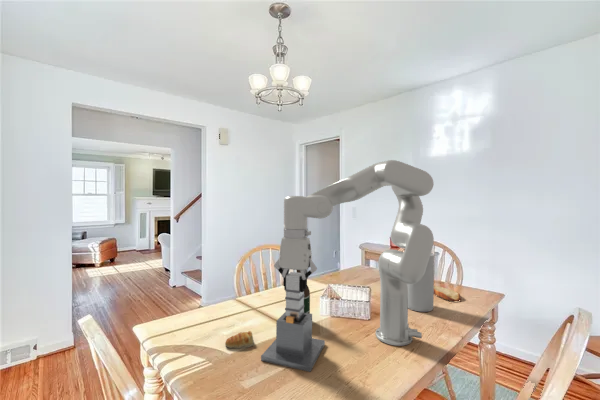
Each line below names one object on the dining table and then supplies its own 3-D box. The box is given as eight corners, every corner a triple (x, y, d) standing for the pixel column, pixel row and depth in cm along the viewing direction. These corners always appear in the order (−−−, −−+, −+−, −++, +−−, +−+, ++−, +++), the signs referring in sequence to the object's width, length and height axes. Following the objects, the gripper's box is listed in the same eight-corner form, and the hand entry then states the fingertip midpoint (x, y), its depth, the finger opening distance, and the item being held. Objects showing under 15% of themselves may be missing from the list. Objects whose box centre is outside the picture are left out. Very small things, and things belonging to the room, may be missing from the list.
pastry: (226, 352, 92) (226, 340, 92) (224, 342, 99) (224, 331, 98) (255, 346, 96) (255, 335, 96) (250, 337, 102) (250, 327, 102)
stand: (324, 344, 97) (325, 306, 97) (310, 371, 82) (310, 327, 82) (281, 336, 102) (282, 300, 102) (261, 360, 87) (261, 318, 87)
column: (304, 327, 94) (304, 273, 93) (299, 334, 89) (299, 277, 89) (290, 324, 95) (290, 271, 95) (284, 331, 91) (285, 275, 90)
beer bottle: (308, 326, 110) (308, 265, 110) (288, 324, 112) (289, 264, 112) (311, 318, 118) (311, 261, 118) (293, 316, 120) (293, 260, 119)
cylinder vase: (427, 302, 137) (428, 251, 136) (437, 313, 124) (438, 256, 124) (401, 301, 138) (401, 250, 138) (408, 311, 126) (409, 255, 125)
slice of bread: (427, 287, 161) (427, 280, 161) (464, 294, 150) (464, 287, 150) (419, 296, 147) (419, 289, 146) (459, 304, 136) (459, 296, 136)
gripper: (323, 233, 92) (323, 289, 93) (276, 231, 98) (276, 283, 98) (317, 236, 85) (316, 297, 86) (266, 234, 91) (266, 290, 91)
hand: (295, 289), depth 92 cm, fingers closed on column, 4 cm apart
